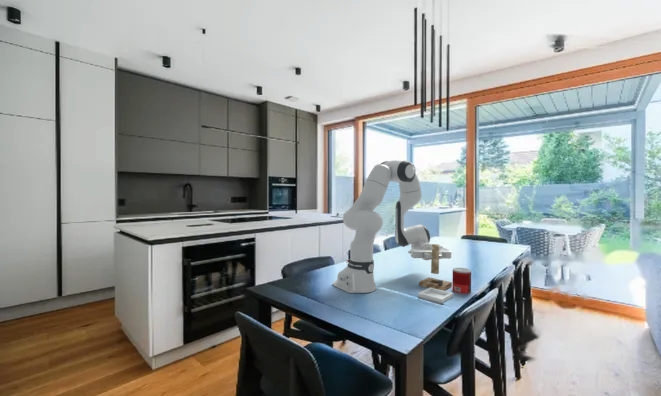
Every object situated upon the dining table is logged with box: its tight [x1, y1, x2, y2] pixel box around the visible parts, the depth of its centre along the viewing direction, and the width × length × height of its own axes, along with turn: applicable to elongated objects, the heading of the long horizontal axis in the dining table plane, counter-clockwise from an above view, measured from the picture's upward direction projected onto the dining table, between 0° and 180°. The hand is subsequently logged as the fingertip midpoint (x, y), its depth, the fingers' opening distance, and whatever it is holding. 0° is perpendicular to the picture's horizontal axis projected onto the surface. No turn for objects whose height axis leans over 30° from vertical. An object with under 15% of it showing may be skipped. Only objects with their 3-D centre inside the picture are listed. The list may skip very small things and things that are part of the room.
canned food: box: [452, 267, 472, 295], centre depth 140 cm, size 8×8×11 cm
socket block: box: [418, 277, 453, 291], centre depth 148 cm, size 12×10×5 cm
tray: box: [417, 287, 454, 306], centre depth 133 cm, size 11×11×2 cm
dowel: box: [430, 243, 440, 275], centre depth 147 cm, size 4×4×14 cm
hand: (436, 257), depth 146 cm, fingers closed on dowel, 4 cm apart
